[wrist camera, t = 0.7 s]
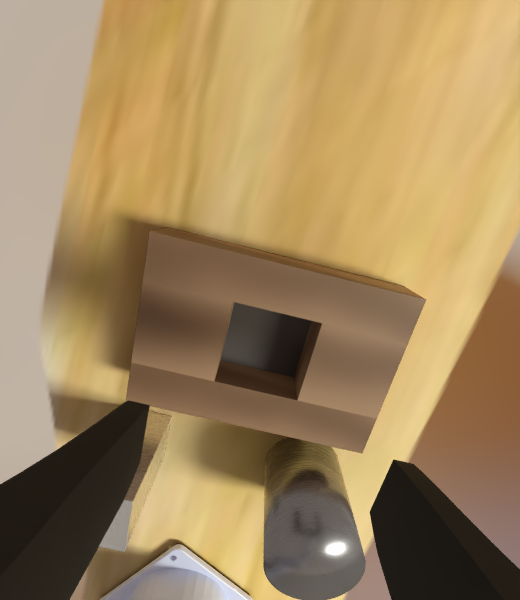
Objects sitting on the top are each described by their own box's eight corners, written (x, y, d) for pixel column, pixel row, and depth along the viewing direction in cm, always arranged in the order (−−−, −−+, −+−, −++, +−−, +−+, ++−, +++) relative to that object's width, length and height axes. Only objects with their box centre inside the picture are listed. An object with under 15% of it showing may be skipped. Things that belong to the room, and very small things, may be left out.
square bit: (164, 456, 21) (124, 552, 15) (115, 445, 21) (57, 538, 15) (171, 416, 20) (132, 501, 14) (121, 404, 20) (61, 486, 14)
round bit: (325, 501, 22) (346, 608, 16) (257, 486, 21) (253, 589, 16) (348, 444, 20) (380, 540, 15) (275, 428, 20) (278, 518, 14)
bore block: (350, 423, 20) (362, 453, 17) (143, 376, 19) (125, 400, 17) (404, 286, 17) (426, 299, 15) (166, 227, 17) (149, 231, 14)
